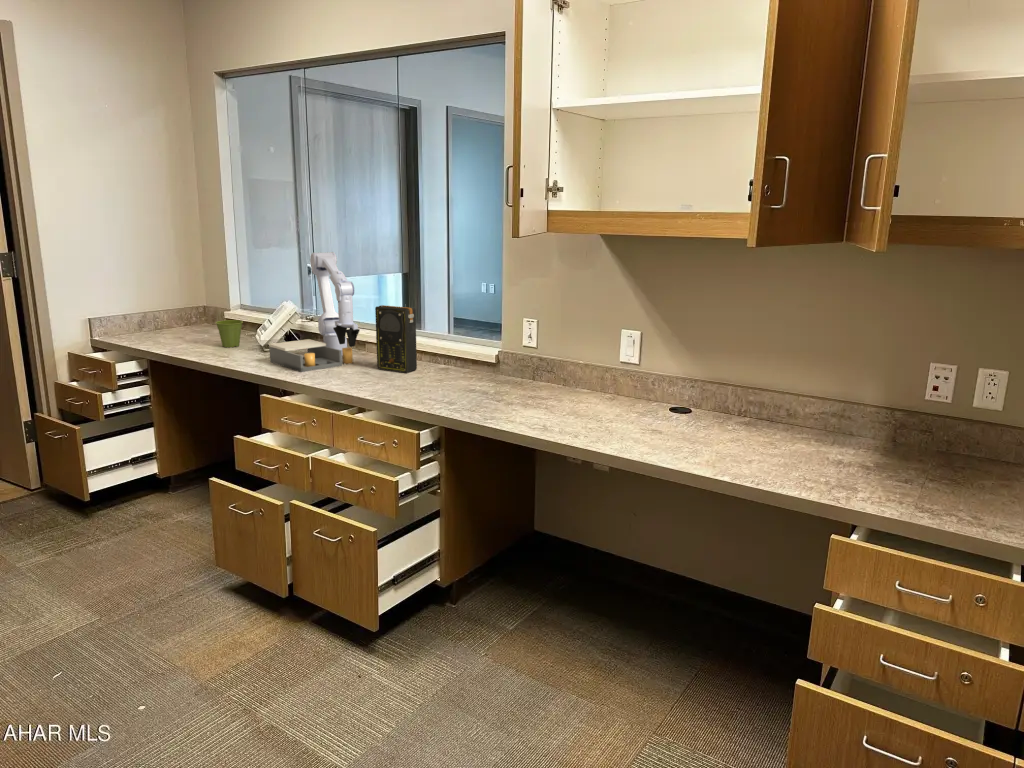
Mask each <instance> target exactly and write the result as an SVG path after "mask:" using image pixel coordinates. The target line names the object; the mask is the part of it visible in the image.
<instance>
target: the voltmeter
mask: <svg viewBox="0 0 1024 768" xmlns="http://www.w3.org/2000/svg"><path fill="white" fill-rule="evenodd" d="M416 310H417V309H416V308H414V307H406V306H405V307H404V306H394V305H383V304H381V305H379V306H375V310H374V311H375V312H374V313H375V340H376V345H375V346H376V366H377V367H376V368H377V369H378V370H382V371H388V372H393V373H394V372H396V373H402V374H408V373H410V372H413V371H416V370H417V368H418V364H417V363H418V362H417V361H418V358H417V354H418V353H417V321H416V320H417V319H416V317H417V311H416Z"/></svg>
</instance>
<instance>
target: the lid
mask: <svg viewBox="0 0 1024 768" xmlns="http://www.w3.org/2000/svg"><path fill="white" fill-rule="evenodd" d="M321 346H326V343H323V342H322V341H317V340H313V339H310V338H307V339H301V340H300V339H298V340H291V341H284V342H282V341H281V342H274V343H268V347H273V348H276V349H280V350H283V351H288V352H291V351H296V350H297V351H298V350H307V349H308V348H314V347H321Z"/></svg>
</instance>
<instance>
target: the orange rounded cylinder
mask: <svg viewBox="0 0 1024 768" xmlns="http://www.w3.org/2000/svg"><path fill="white" fill-rule="evenodd" d="M303 354H304V355H303V358H304V359H303V360H305V366H306V367H310V366H315V353H308V352H306V353H303Z"/></svg>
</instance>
